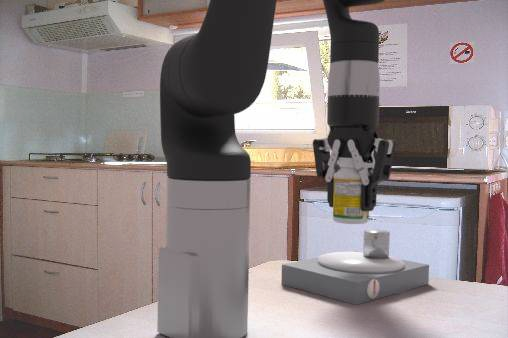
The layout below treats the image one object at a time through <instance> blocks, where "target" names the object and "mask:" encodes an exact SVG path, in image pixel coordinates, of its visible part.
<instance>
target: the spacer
mask: <svg viewBox="0 0 508 338" xmlns="http://www.w3.org/2000/svg"><path fill="white" fill-rule="evenodd" d="M390 233H391V232H390V231H389V230H386V229H385V230H384V229H383V230H382V229H365V230H363V247H362V252H363V257H365V258H370V259H388V258H389V256H390V237H391V236H390V235H391V234H390Z"/></svg>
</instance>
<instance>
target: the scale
mask: <svg viewBox="0 0 508 338" xmlns="http://www.w3.org/2000/svg"><path fill="white" fill-rule="evenodd" d="M429 276H430V264H428V263H422V262H416V261H412V260H411V261H410V260H407V259H400V258H399V257H396V256H392V255H389V258H388V259H370V258H365V257H363V251H359V250H352V251H335V252H334V251H333V252H327V253H322V254H320V255H319V256H318V257H315V258H309V259H303V260H298V261H293V262H288V263H283V264H281V285H284V286H286V287H289V288H290V287H291V288H294V289H298V290H302V291H305V292H308V293H312V294H316V295H320V296H323V297H327V298H329V299H330V298H331V299H335V300H338V301H342V302H345V303H348V304H352V305H355V306H357V305H361V304H363V303H367V302H371V301H374V300H378V299H381V298H385V297H388V296H391V295H395V294H398V293H402V292H406V291H409V290H413V289H416V288H419V287H424V286H426V285H427V286H428V285H429V280H430V277H429Z"/></svg>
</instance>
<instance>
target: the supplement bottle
mask: <svg viewBox="0 0 508 338" xmlns="http://www.w3.org/2000/svg"><path fill="white" fill-rule="evenodd" d="M364 163H366V162H364ZM339 167H340V168H341V169H340V171H337V172H336V173H335V175H334V193H333V207H332V220H333V221H334V222H335V223H338V224H345V225H364V224H367V223H368V222H369V220H370V219H369V218H370V211H362V210H361V186H363V185H364V184H363V183H362V180H361V177H360V173H359V171H357V170H356V167H355V164H354V161H353V158H343V157H339Z"/></svg>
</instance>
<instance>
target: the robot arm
mask: <svg viewBox="0 0 508 338" xmlns="http://www.w3.org/2000/svg"><path fill="white" fill-rule="evenodd" d="M277 2H278V0H209V3H208V7H207V11H206V13H205V16H204V19H203V21H202V24H201V26H200V29H199V31H198V32H197V33H194V34H191V35H188V36H186V37H183V38H181V39H180V40H178V41H176V42H175V43H173V45H171V47H170V48H168V51H167V52H166V54H165V56H164V58H163V61H162V64H161V65H162V66H161V69H160V70H161V71H160V75H159V76H160V78H159V79H160V80H159V108H160V109H159V110H160V142H161V143H160V144H161V148H162V149H161V150H162V152H163V155H164V157H165V163H166V176H167V178H166V218H165V219H166V223H165V224H166V225H165V226H166V231H165V234H166V235H165V236H166V237H165V245H164V246H159V248H158V254H157V255H158V257H157V262H158V263H157V264H158V265H157V326H156V327H157V333H159V334H161V335H163V336H165V337H167V338H243V337H244V336H246V335H247V333H248V324H249V323H248V317H249V272H250V271H249V269H250V266H249V265H250V230H251V229H250V226H251V225H250V221H251V220H250V219H251V184H252V183H251V180H252V179H251V178H252V177H251V175H252V174H251V172H252V171H251V170H252V163H251V162H252V161H251V157H250V154H249V153H248V152H247V150H245V149H244V147H242V145H241V144H240V143H239V140H238V138H237V135H236V123H235V122H236V120H235V119H236V117H235V115H237V114H239V113H242V112H243V111H245V110H247V109H248V108H250V107H251V106H252V105H253V104H254V103H255V101H256V100H257V98H259V95H260V94H261V92H262V89H263V87H264V84H265V82H266V81H265V80H266V77H267V72H268V65H269V61H270V60H269V59H270V52H271V45H272V37H273V29H274V22H275V14H276V7H277ZM383 2H386V0H322V3H323V5H324V10H325V14H326V20H327V24H328V29H329V35H330V46H329V49H330V51H329V53H330V54H329V56H330V57H329V58H330V59H329V64H330V65H329V71H328V78H327V107H326V108H327V115H326V116H327V118H326V123H327V125H328V126H329V132H328V135H327V137H326V138H318V139H317V138H315V139H313V140H312V149H313V157H314V164H315V165H314V166H315V170H316V171H315V172H316V176H317V178H322V179H324V180H325V181H326V183H327V189H326V191H327V196H326V199H327V203H328V206H329V207H330V208H333V193H334V175H335V173H336V172H337V171H340V169H341V168H340V167H339V157H343V158H353V161H354V164H355V167H356V170H357V171H359V173H360V177H361V180H362V183H363V184H364V185H363V186H361V210H362V211H369V212H372V211H374V208H375V207H376V206H377V195H378V194H377V193H378V192H377V190H378V189H377V188H378V185H379V184H380V183H383V182H388V181H389V179H390V177H391V173H392V167H393V163H394V156H395V152H396V151H395V150H396V147H397V143H396V141H395V139H382V138H380V137H379V134H378V133H377V128H378V125H379V121H380V88H381V84H380V79H381V78H380V68H379V59H380V58H379V57H380V54H379V50H380V49H379V47H380V30H379V27H378V25H376V24H375V23H374V22H371V21H367V20H361V19H360V20H359V19H354V18H353V19H352V17H351V15H350V8H352V7H362V6H372V5H377V4H381V3H383ZM374 151H375V152H376V156H374V154H373V153H374ZM364 162H366V163H364Z"/></svg>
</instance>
